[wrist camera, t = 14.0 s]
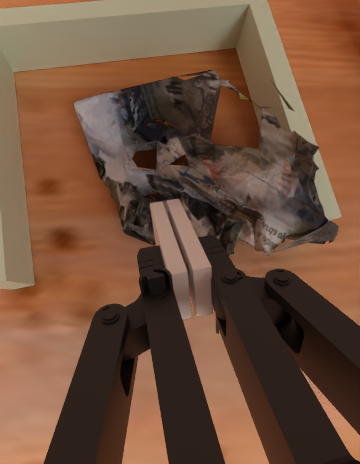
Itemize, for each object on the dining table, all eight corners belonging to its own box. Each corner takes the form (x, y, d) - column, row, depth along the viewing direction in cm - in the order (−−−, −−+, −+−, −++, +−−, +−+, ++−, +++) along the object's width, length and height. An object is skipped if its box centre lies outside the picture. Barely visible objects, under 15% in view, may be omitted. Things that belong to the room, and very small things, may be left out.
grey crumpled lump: (215, 45, 22) (391, 110, 12) (218, 166, 30) (328, 269, 20) (63, 84, 20) (124, 207, 10) (109, 206, 27) (170, 347, 17)
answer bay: (310, 231, 23) (341, 216, 19) (11, 289, 20) (-23, 286, 16) (247, 33, 27) (262, -13, 23) (-7, 58, 24) (-38, 11, 20)
